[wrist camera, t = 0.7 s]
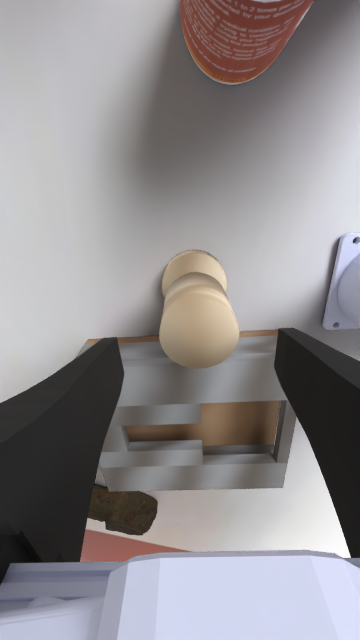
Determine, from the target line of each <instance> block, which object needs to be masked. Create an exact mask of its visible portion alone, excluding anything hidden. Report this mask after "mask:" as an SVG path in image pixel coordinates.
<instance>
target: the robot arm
mask: <svg viewBox="0 0 360 640" xmlns="http://www.w3.org/2000/svg"><path fill="white" fill-rule="evenodd" d="M355 237H357V240H356V242H355V243H353V239H354V238H355ZM336 322H337V324H336V325H334V323H336ZM333 325H334V326H333ZM322 326H323V327H324V328H325V329H326V330H343V329H360V233H347V234H345V235H343V236H342V237H341V239H340V242H339V247H338V251H337V256H336V261H335V266H334V271H333V275H332V280H331V285H330V290H329V295H328V299H327V304H326V309H325V314H324V318H323V323H322ZM274 368H275V371H276V374H277V377H278V380H279V383H280V385H281V387H282V389H283V391H284V393H285V395H286V397H287V399H288V401H289V403H290V405H291V407H292V408H293V410H294V412H295V414H296V416H297V418H298V420H299V422H300V423H301V425H302V427H303V429H304V431H305V433H306V435H307V437H308V440H309V442H310V444H311V447H312V449H313V452H314V454H315V457H316V459H317V462H318V464H319V467H320V469H321V472H322V475H323V477H324V480H325V482H326V485H327V488H328V490H329V493H330V496H331V499H332V502H333V505H334V507H335V510H336V513H337V516H338V519H339V522H340V525H341V528H342V531H343V534H344V537H345V540H346V543H347V546H348V549H349V553H350V556H351V558H342V557H340V556H338V555H336V554H335V553H327V552H318V551H310V550H279V551H220V552H162V553H155V554H148V555H142V556H135V557H133V558H131V559H129V560H127V561H125V562H80V557H81V551H82V545H83V539H84V533H85V528H86V522H87V517H88V512H89V507H90V501H91V496H92V492H93V487H94V482H95V478H96V473H97V468H98V464H99V460H100V456H101V451H102V447H103V444H104V441H105V437H106V435H107V432H108V429H109V426H110V423H111V420H112V417H113V414H114V412H115V409H116V406H117V403H118V400H119V397H120V394H121V389H122V385H123V379H124V369H123V364H122V359H121V355H120V350H119V345H118V340H117V337H113V338H103V339H101V340H100V341H98V342H97V343H95V344H94V345H93V346H91V347H90V348H89V349H88V350H86V351H85V352H84V353H82V354H81V355H80V356H78V357H77V358H76V359H74V360H73V361H72V362H70V363H69V364H67V365H66V366H64V367H63V368H61V369H60V370H59V371H57V372H56V373H54V374H53V375H51V376H50V377H48V378H47V379H45V380H43V381H42V382H40V383H38V384H36V385H35V386H33V387H31V388H30V389H28V390H26V391H24V392H22V393H20V394H18V395H16V396H14V397H12V398H10V399H8V400H6V401H4V402H2V403H0V640H360V361H358V360H356V359H354V358H351V357H349V356H347V355H345V354H343V353H341V352H339V351H337V350H335V349H333V348H331V347H329V346H327V345H325V344H323V343H322V342H320V341H318V340H316V339H314V338H312V337H310V336H309V335H307V334H305V333H303V332H301V331H299V330H297V329H294V328H279V329H278V336H277V345H276V353H275V361H274Z"/></svg>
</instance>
